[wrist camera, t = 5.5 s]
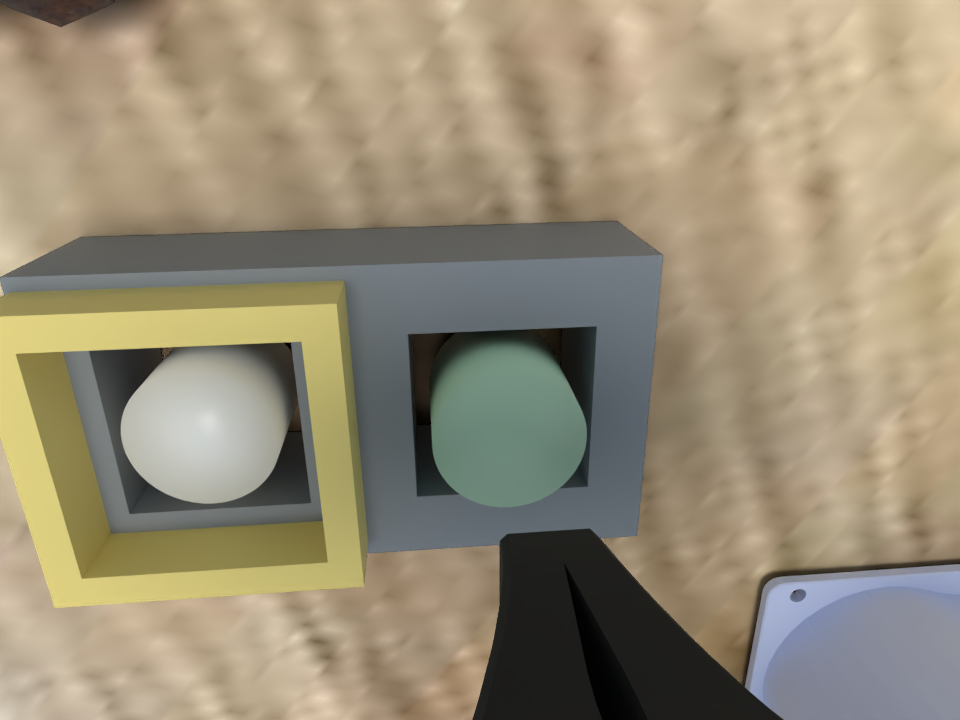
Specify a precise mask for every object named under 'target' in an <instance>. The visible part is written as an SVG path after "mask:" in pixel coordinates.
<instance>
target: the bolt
mask: <svg viewBox="0 0 960 720" xmlns="http://www.w3.org/2000/svg"><path fill="white" fill-rule="evenodd" d="M114 1H115V0H0V2H2V3H3V4H5V5H6V6H8V7H9V8H11V9H14V10H16V11H19V12H22V13H24V14H27V15H30V16H32V17H35V18H38V19H40V20H43V21H46V22H49V23H51V24H54V25H57V26H59V27H62V26H65V25H67V24H69V23H71V22H73V21H76V20H78V19H80V18H82V17H84V16H87V15H89V14H91V13H93V12H96V11H98V10H100V9H102V8H104V7H107V6H109V5H111V4H112V3H113V2H114Z"/></svg>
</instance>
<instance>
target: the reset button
mask: <svg viewBox="0 0 960 720" xmlns="http://www.w3.org/2000/svg"><path fill="white" fill-rule="evenodd" d="M297 403H298V395H297V387H296V379H295V371H294V363H293V356H292V353H291V351H290V350H289V348H288V347H287V346H286V345H285V344H284V342H283V343H260V344H236V345H212V346H188V347H174V348H173V349H172V350H171V351H170V352H169V354H168V355H167V356H166V357H165V358H164V359H163V361H162V362H161V363H160V364H159V365H158V366H157V367H156V369H155V370H154V371H153V372H152V373H151V374H150V375H149V377H148V378H147V379H146V380H145V381H144V382H143V384H142V385H141V386H140V387H139V388H138V389H137V390H136V392H135V393H134V394H133V395H132V397H131V398H130V399H129V401H128V403H127V405H126V407H125V409H124V412H123V415H122V420H121V439H122V444H123V447H124V450H125V453H126V455H127V457H128V459H129V461H130V462H131V464H132V466H133V467H134V468H135V470H136V471H137V472H138V473H139V474H140V475H141V476H142V477H143V478H144V479H145V480H146V481H147V482H148V483H149V484H151V485H152V486H154V487H155V488H156V489H158V490H160V491H162V492H163V493H165V494H168V495H170V496H172V497H175V498H178V499H181V500H184V501H189V502H194V503H203V504H214V503H223V502H227V501H232V500H235V499H238V498H241V497H243V496H245V495H247V494H249V493H251V492H252V491H254V490H255V489H256V488H258V487H259V486H260V485H261V484H262V483H263V482H264V481H265V480H266V479H267V478H268V477H269V475H270V474H271V472H272V470H273V469H274V467H275V464H276V462H277V459H278V456H279V454H280V451H281V448H282V445H283V442H284V439H285V437H286V434H287V431H288V428H289V425H290V422H291V420H292V417H293V414H294V411H295V408H296V405H297Z"/></svg>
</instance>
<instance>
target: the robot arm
mask: <svg viewBox="0 0 960 720" xmlns="http://www.w3.org/2000/svg"><path fill="white" fill-rule="evenodd" d="M795 590H797V591H796V592H795V593H792V592H794V591H795ZM473 720H960V564H954V565H939V566H925V567H911V568H897V569H883V570H869V571H855V572H841V573H827V574H813V575H799V576H785V577H777V578H773V579H772V580H770V581H768V582H767V584H766V585H765V586H764V588H763V591H762V597H761V602H760V608H759V613H758V619H757V624H756V629H755V635H754V640H753V646H752V651H751V656H750V662H749V667H748V673H747V678H746V684H745V687H744V686H743V685H742V684H741V683H739V682H738V681H737V680H736V679H735V678H734V677H733V676H732V675H731V674H730V673H729V672H727V671H726V670H725V669H724V668H723V667H722V666H721V665H720V664H719V663H718V662H717V661H715V660H714V659H713V658H712V657H711V656H710V655H709V654H708V653H707V652H706V651H705V650H704V649H703V648H702V647H701V646H700V645H699V644H698V643H697V642H696V641H694V640H693V639H692V638H691V637H690V636H689V635H688V634H687V633H686V632H685V631H684V630H683V628H682V627H681V626H680V625H679V624H678V623H677V622H676V621H675V620H674V619H673V618H672V617H671V616H670V615H669V614H668V613H667V612H666V611H665V610H664V609H663V608H662V607H661V606H660V605H659V604H658V603H657V602H656V601H655V600H654V599H653V598H652V597H651V595H650V594H649V593H648V592H647V591H646V590H645V589H644V588H643V587H642V586H641V585H640V583H639V582H638V581H637V580H636V579H635V578H634V577H633V576H632V575H631V574H630V572H629V571H628V570H627V569H626V568H625V567H624V566H623V565H622V563H621V562H620V561H619V560H618V559H617V558H616V556H615V555H614V554H613V553H612V552H611V551H610V550H609V548H608V547H607V546H606V545H605V544H604V543H603V541H602V540H601V539H600V538H599V537H598V536H597V534H595V533H594V532H593V531H592V530H591V529H590V528H588V529H573V530H557V531H542V532H527V533H511V534H507V535H506V536H504V537H503V538H502V539H501V540H500V606H499V612H498V618H497V624H496V629H495V635H494V641H493V645H492V650H491V654H490V658H489V662H488V666H487V669H486V673H485V677H484V681H483V685H482V689H481V693H480V697H479V700H478V703H477V707H476V710H475V713H474V717H473Z"/></svg>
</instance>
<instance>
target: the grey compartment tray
mask: <svg viewBox="0 0 960 720" xmlns="http://www.w3.org/2000/svg"><path fill="white" fill-rule="evenodd" d="M662 262H663V255H662V254H661V253H660V252H658V251H657V250H656V249H654V248H653V247H652V246H650V245H649V244H648V243H646V242H645V241H643V240H642V239H641V238H639V237H638V236H637V235H635V234H634V233H633V232H631V231H630V230H629V229H627V228H626V227H625V226H623V225H622V224H621V223H619V222H618V221H601V222H568V223H535V224H501V225H468V226H435V227H402V228H368V229H335V230H302V231H268V232H235V233H202V234H169V235H135V236H102V237H80V238H78V239H76V240H74V241H72V242H70V243H68V244H66V245H64V246H62V247H60V248H58V249H56V250H54V251H52V252H50V253H48V254H46V255H44V256H42V257H40V258H38V259H36V260H34V261H32V262H30V263H28V264H26V265H23V266H21V267H19V268H17V269H15V270H13V271H11V272H9V273H7V274H5V275H3V276H1V277H0V282H1V286H2V289H3V293H4V295H3V296H2V297H0V438H1V441H2V445H3V448H4V451H5V454H6V457H7V460H8V463H9V466H10V470H11V473H12V476H13V479H14V482H15V485H16V488H17V491H18V495H19V498H20V501H21V504H22V507H23V510H24V513H25V517H26V520H27V523H28V526H29V529H30V532H31V535H32V538H33V542H34V545H35V548H36V551H37V554H38V557H39V560H40V563H41V567H42V570H43V573H44V576H45V579H46V582H47V585H48V588H49V592H50V595H51V598H52V601H53V604H54V607H55V608H61V607H75V606H90V605H104V604H119V603H133V602H148V601H162V600H177V599H191V598H206V597H220V596H235V595H249V594H264V593H278V592H293V591H307V590H322V589H336V588H351V587H364V581H365V571H366V561H367V553H381V552H397V551H412V550H427V549H443V548H458V547H473V546H489V545H500V540H501V539H502V538H503V537H504V536H506V535H507V534H511V533H527V532H542V531H557V530H573V529H588V528H590V529H591V530H592V531H593V532H594V533H595V534H597V536H598V537H599V538H611V537H626V536H637V532H638V521H639V511H640V500H641V489H642V478H643V467H644V457H645V446H646V435H647V424H648V413H649V402H650V392H651V381H652V370H653V359H654V348H655V338H656V327H657V316H658V305H659V294H660V283H661V273H662ZM546 328H562V353H561V369H562V371H563V373H564V375H565V377H566V379H567V381H568V383H569V385H570V387H571V389H572V391H573V394H574V396H575V398H576V400H577V402H578V404H579V406H580V408H581V410H582V412H583V415H584V418H585V422H586V428H587V441H586V447H585V451H584V455H583V457H582V460H581V462H580V464H579V466H578V467H577V469H576V471H575V472H574V473H573V475H572V476H571V477H570V479H569V480H568V481H567V482H566V483H565V484H564V485H563V486H561V487H560V488H559V489H558V490H556V491H555V492H554V493H552V494H550V495H549V496H547V497H545V498H543V499H541V500H539V501H536V502H533V503H530V504H527V505H522V506H516V507H492V506H487V505H483V504H479V503H476V502H474V501H471V500H469V499H467V498H465V497H463V496H462V495H461V494H459V493H458V492H456V491H455V490H454V489H453V488H452V487H450V486H449V484H448V483H447V482H446V481H445V480H444V478H443V477H442V475H441V474H440V472H439V470H438V468H437V466H436V463H435V460H434V456H433V449H432V432H431V425H416V407H415V388H414V369H413V351H412V334H426V333H450V332H474V331H498V330H522V329H546ZM283 342H291V348H292V356H293V363H294V371H295V379H296V387H297V395H298V403H299V411H300V419H301V427H302V431H296V432H287V434H286V437H285V439H284V442H283V445H282V448H281V451H280V454H279V456H278V459H277V462H276V464H275V467H274V469H273V470H272V472H271V474H270V475H269V477H268V478H267V479H266V480H265V481H264V482H263V483H262V484H261V485H260V486H259V487H258V488H256V489H255V490H254V491H252V492H251V493H249V494H247V495H245V496H243V497H241V498H238V499H235V500H232V501H227V502H223V503H214V504H203V503H194V502H189V501H184V500H181V499H178V498H175V497H172V496H170V495H168V494H165V493H163V492H162V491H160V490H158V489H156V488H155V487H154V486H152V485H151V484H149V483H148V482H147V481H146V480H145V479H144V478H143V477H142V476H141V475H140V474H139V473H138V472H137V471H136V470H135V468H134V467H133V466H132V464H131V462H130V461H129V459H128V457H127V455H126V453H125V450H124V447H123V444H122V439H121V420H122V415H123V412H124V409H125V407H126V405H127V403H128V401H129V399H130V398H131V397H132V395H133V394H134V393H135V392H136V390H137V389H138V388H139V387H140V386H141V385H142V384H143V382H144V381H145V380H146V379H147V378H148V377H149V375H150V374H151V373H152V372H153V371H154V370H155V369H156V367H157V366H158V365H159V364H160V363H161V362H162V361H163V359H162V354H161V349H160V348H164V347H188V346H212V345H236V344H260V343H283Z"/></svg>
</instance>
